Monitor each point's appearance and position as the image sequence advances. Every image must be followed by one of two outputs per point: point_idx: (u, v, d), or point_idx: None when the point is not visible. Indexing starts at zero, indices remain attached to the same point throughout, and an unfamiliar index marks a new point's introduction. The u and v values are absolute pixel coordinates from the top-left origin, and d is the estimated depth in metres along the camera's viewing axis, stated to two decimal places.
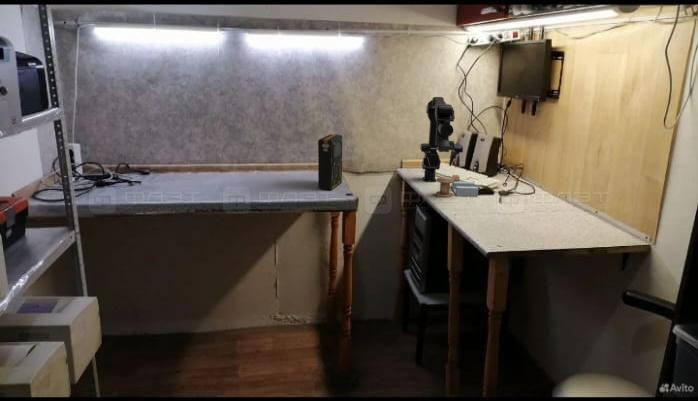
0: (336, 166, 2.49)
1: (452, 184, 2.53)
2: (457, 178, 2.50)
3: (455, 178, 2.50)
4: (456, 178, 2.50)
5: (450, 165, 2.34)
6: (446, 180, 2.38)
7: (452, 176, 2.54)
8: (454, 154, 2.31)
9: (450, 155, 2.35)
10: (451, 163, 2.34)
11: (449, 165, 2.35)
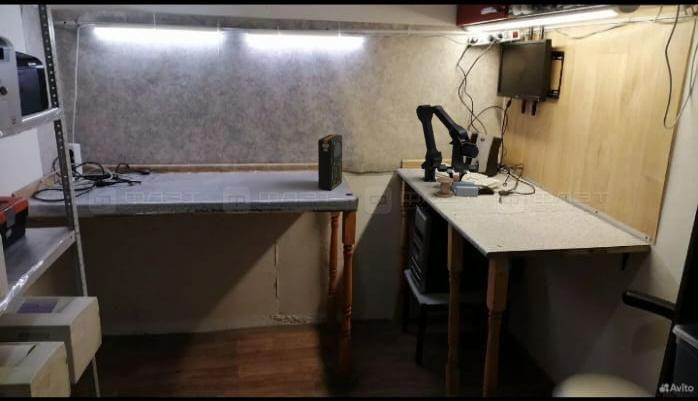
0: (336, 166, 2.49)
1: None
2: (457, 178, 2.50)
3: (455, 178, 2.50)
4: (456, 178, 2.50)
5: None
6: (446, 180, 2.38)
7: None
8: (462, 174, 2.49)
9: None
10: None
11: None
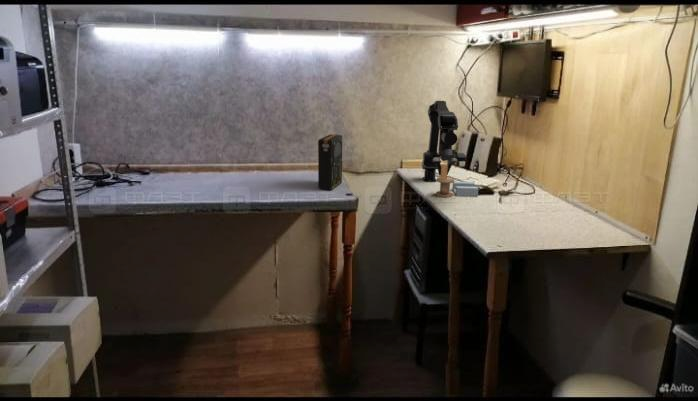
0: (336, 166, 2.49)
1: (440, 174, 2.31)
2: (445, 167, 2.28)
3: (443, 167, 2.28)
4: (444, 167, 2.28)
5: (447, 174, 2.30)
6: (446, 180, 2.38)
7: (440, 165, 2.31)
8: (451, 163, 2.27)
9: (447, 164, 2.32)
10: (448, 172, 2.30)
11: None
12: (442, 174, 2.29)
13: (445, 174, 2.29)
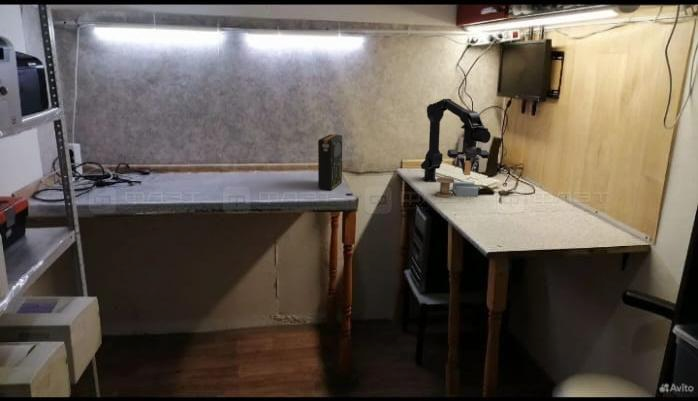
0: (336, 166, 2.49)
1: None
2: (469, 164, 2.39)
3: (466, 164, 2.39)
4: (467, 164, 2.39)
5: None
6: (446, 180, 2.38)
7: None
8: (474, 160, 2.38)
9: (470, 161, 2.42)
10: (471, 168, 2.41)
11: None
12: (466, 170, 2.40)
13: (469, 170, 2.40)
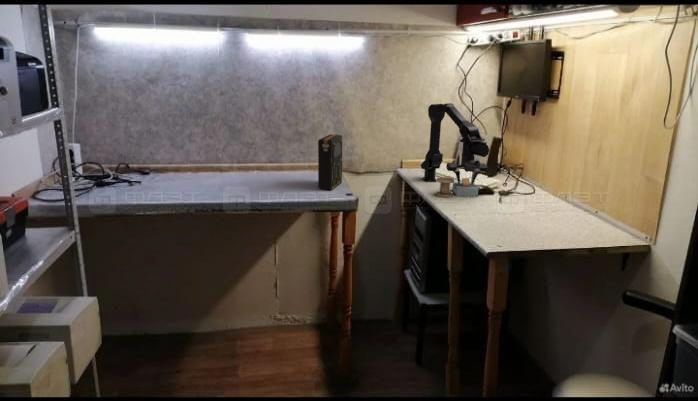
0: (336, 166, 2.49)
1: None
2: (467, 181, 2.41)
3: (465, 182, 2.41)
4: (466, 181, 2.41)
5: (472, 183, 2.43)
6: (446, 180, 2.38)
7: (462, 179, 2.45)
8: (476, 173, 2.40)
9: (472, 174, 2.44)
10: (473, 182, 2.43)
11: (471, 183, 2.44)
12: None
13: None
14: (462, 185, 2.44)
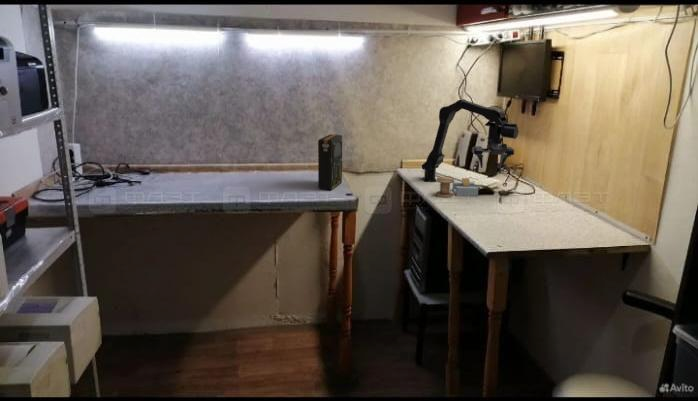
0: (336, 166, 2.49)
1: None
2: (467, 181, 2.41)
3: (465, 182, 2.41)
4: (466, 181, 2.41)
5: (501, 167, 2.42)
6: (446, 180, 2.38)
7: (462, 179, 2.45)
8: (505, 157, 2.39)
9: (501, 157, 2.44)
10: (502, 165, 2.42)
11: (500, 167, 2.43)
12: None
13: None
14: (462, 185, 2.44)
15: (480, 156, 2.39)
